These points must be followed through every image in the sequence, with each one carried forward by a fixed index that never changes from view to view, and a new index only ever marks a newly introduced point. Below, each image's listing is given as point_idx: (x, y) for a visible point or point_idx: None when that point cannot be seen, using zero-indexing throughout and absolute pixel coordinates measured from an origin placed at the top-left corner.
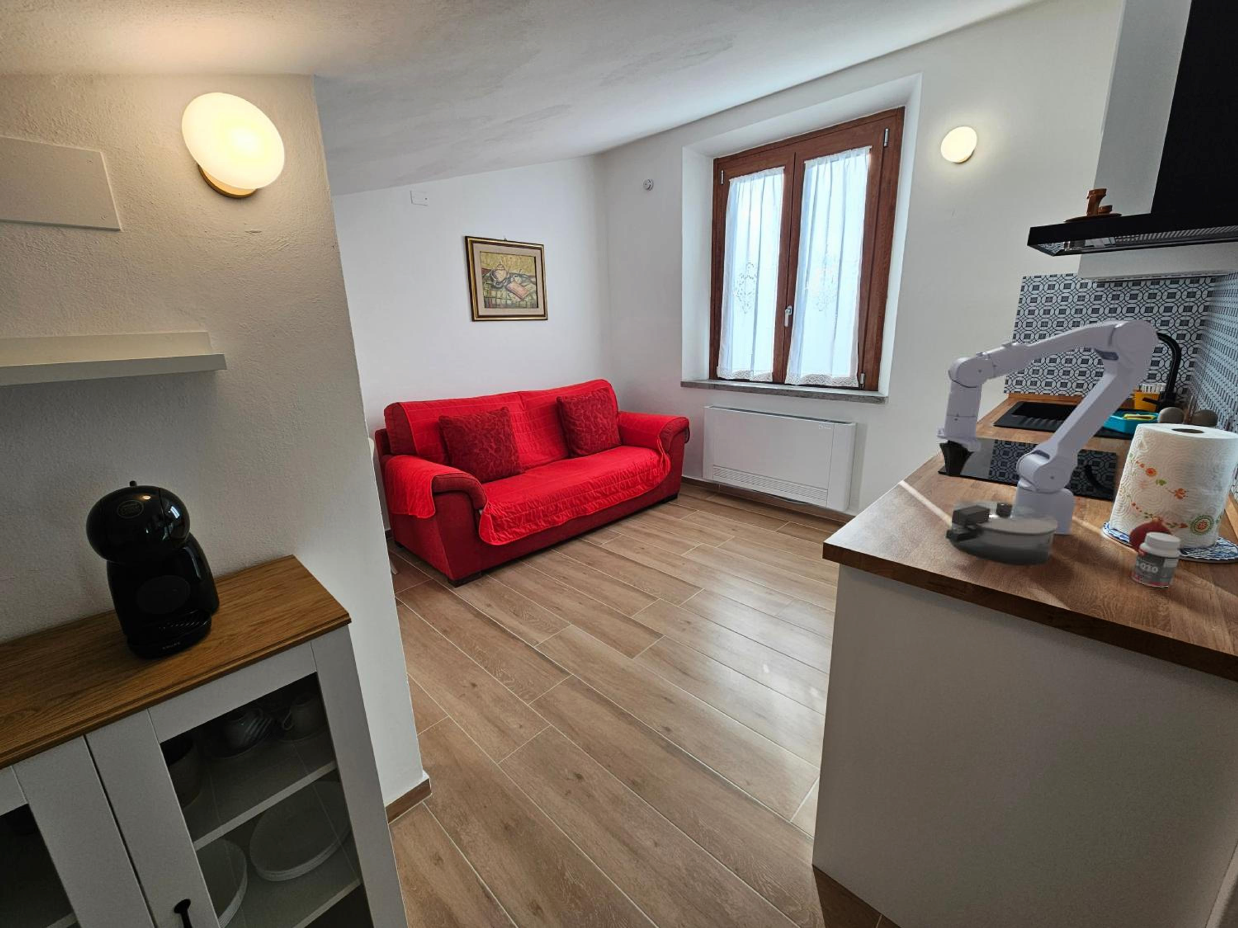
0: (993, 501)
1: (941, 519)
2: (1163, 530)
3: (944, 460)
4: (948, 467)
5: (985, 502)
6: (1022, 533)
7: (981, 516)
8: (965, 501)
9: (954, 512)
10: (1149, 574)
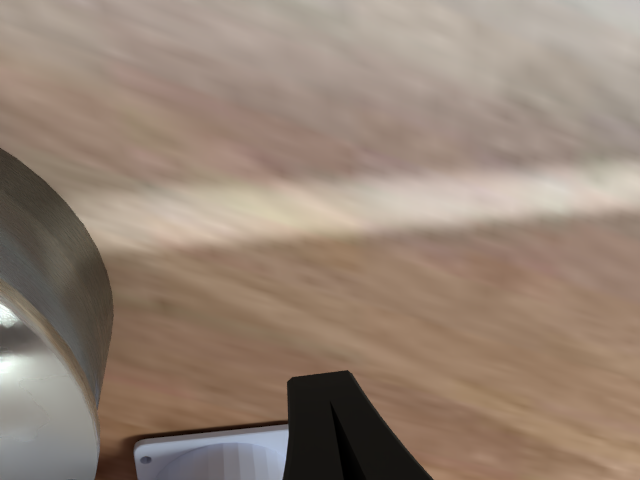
0: (83, 476)
1: (281, 177)
2: None
3: (424, 476)
4: (301, 445)
5: (40, 437)
6: None
7: None
8: (23, 335)
9: None
10: None
